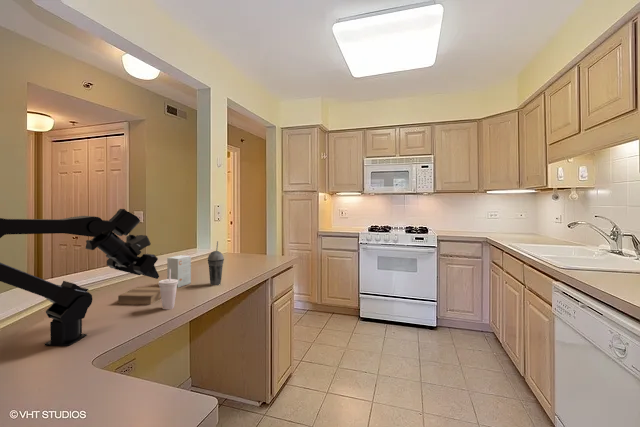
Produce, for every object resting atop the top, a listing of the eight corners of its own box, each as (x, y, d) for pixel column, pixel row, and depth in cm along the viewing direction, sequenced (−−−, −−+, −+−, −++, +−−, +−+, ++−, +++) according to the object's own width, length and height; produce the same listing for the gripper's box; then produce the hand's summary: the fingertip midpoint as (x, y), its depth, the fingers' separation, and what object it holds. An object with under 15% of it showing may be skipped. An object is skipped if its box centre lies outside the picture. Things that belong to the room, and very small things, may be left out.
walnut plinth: (150, 304, 112) (150, 296, 111) (118, 303, 112) (118, 295, 111) (167, 294, 124) (167, 287, 123) (137, 294, 124) (137, 286, 123)
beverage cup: (203, 285, 138) (204, 242, 138) (213, 281, 145) (214, 240, 145) (217, 287, 136) (217, 243, 135) (226, 283, 143) (227, 241, 142)
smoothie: (170, 311, 105) (170, 271, 104) (153, 309, 106) (154, 270, 106) (181, 305, 111) (182, 267, 111) (166, 304, 112) (166, 266, 112)
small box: (180, 282, 143) (180, 254, 143) (191, 283, 141) (191, 255, 141) (166, 286, 136) (166, 257, 135) (177, 287, 134) (177, 258, 133)
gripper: (152, 229, 92) (182, 259, 103) (116, 226, 101) (148, 254, 111) (125, 258, 86) (161, 287, 96) (89, 252, 94) (126, 280, 104)
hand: (149, 275), depth 102 cm, fingers open, 9 cm apart
